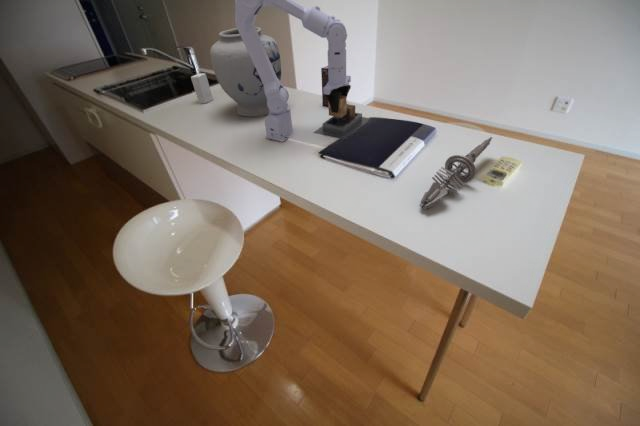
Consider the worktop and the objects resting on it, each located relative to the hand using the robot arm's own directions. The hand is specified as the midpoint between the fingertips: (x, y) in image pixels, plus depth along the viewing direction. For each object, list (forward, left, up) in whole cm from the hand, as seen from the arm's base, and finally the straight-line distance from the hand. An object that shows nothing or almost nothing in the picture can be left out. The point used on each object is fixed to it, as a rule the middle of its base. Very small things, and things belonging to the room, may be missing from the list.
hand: (338, 109), depth 99 cm
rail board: (+3, 0, -8) cm, 8 cm away
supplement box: (+21, +15, -8) cm, 27 cm away
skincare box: (+2, +75, -8) cm, 75 cm away
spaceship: (-14, -44, -8) cm, 47 cm away
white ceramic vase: (+4, +44, -8) cm, 45 cm away
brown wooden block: (+6, 0, -7) cm, 9 cm away
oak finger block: (0, 0, -2) cm, 2 cm away
